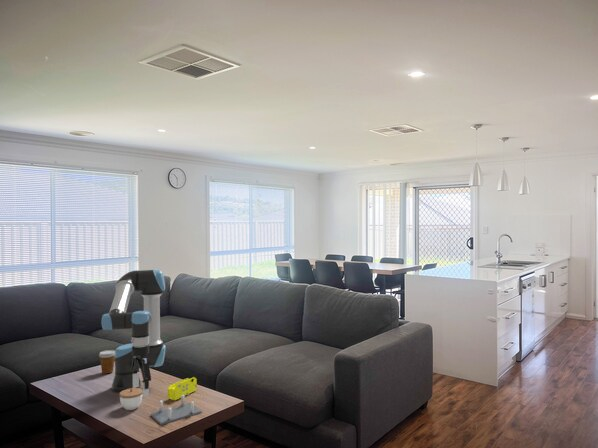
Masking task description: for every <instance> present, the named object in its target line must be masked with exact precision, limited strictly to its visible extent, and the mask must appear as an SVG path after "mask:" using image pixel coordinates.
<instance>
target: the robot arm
mask: <svg viewBox="0 0 598 448" xmlns="http://www.w3.org/2000/svg"><path fill="white" fill-rule="evenodd" d="M114 289H115V294H114V297H113V300H112V303H111V305H110V306H111V307H110V309H109V312H108V313H107V312H106V313H104V314H102V315H101V316H102V317H101V328H102V329H103V330H104V331H107V330H108V331H109V330H110V331H113V330H124V329H125V330H126V329H127V330H128V329H129V330H130V329H131V339H130V342H131V343H126V344H122V345H119V346H118V347H116V348H115V350H114V351H115V359H114V377H113V381H112V383H111V391H112V392H115V393H120V392H121V391H123V390H126V389H130V388H140V389H141V387H142V390H143V393H142V398H144V397H147V396H150V381H152V376H151V371H150V370H151V369H150V368H156V367H161V366H163V365H164V361H165V355H166V344H164V342H163V340H162V339H161V315H160V314H161V309H160V307H161V303H160V302H161V298H160V297H161V296H162V295H163V291H165V290H166V282H165V276H164V273H163V271H162V270H161V269H143V270H138V269H137V270H131V271H129V272H126V273H124V275H122V276H121V277H120V278H119V279H118V281H117V282H116V284H115V287H114ZM134 292H140V296H142V298H143V310H136V311H134V312H127V310H128V306H129V302H130V299H131V295H132V294H133V293H134ZM140 373H141V376H142V380H141V378H140Z"/></svg>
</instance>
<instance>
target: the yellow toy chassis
mask: <svg viewBox="0 0 598 448" xmlns="http://www.w3.org/2000/svg"><path fill="white" fill-rule="evenodd" d="M197 380H198V379H197V378H196V377H195V376H193V377H191V378H189V377H187V378H183V379H182V380H179V381H176V382H175V383H173V384H170V385H169V386H168V388H167V400H168V399H169V400H171V401H176V400H179V399H181V395H184V398H185V397H186V396H187V395H188V396H189V395H190V394H192V393H193V392H194V393H195V392H197V389H198V388H197V384H198V383H197V382H198V381H197Z"/></svg>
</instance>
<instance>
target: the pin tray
mask: <svg viewBox="0 0 598 448" xmlns="http://www.w3.org/2000/svg"><path fill="white" fill-rule="evenodd" d="M163 402H164V401H163V400H158V403H159V404H158V409H159V410H158V411H154V412H150V416H151V417H152V418H153V419H154V421H156V422H157V423H158V424H159V425H160V426H164V425H166V424H170V423H172V422H175V421H178V420H180V421H181V420H183V419H186V418H189V417H193V416H196V415H199V414H202V413H203V411H202V410H201V409H200V408H198V407H197V406H195V402H194V401H190V402H187V403H185V397H184V395H181V398H180V405H176V406H173V407H167V408H166V409H165V408H164V409H163V406H164V403H163Z"/></svg>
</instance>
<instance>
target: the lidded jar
mask: <svg viewBox="0 0 598 448" xmlns="http://www.w3.org/2000/svg"><path fill="white" fill-rule="evenodd" d="M119 401H120V405H121V407H122V408H124V410H125V411H132V410H136V409H138V408H139V406H140V405H141V403H142V401H143V388H141V387H140V388H130V389H126V390H123V391H121V392H119Z"/></svg>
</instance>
